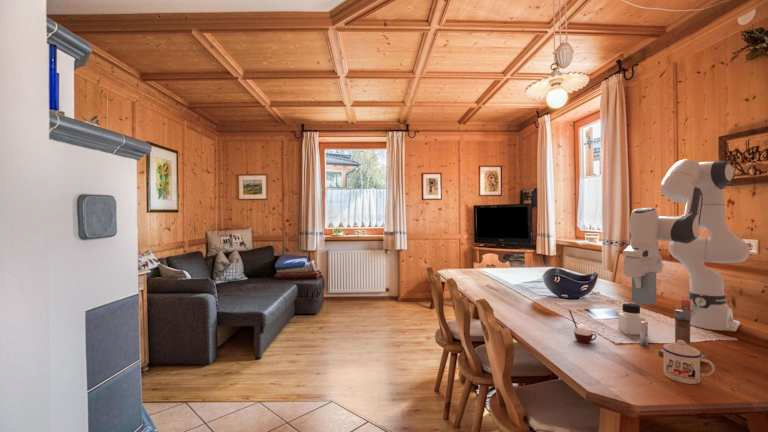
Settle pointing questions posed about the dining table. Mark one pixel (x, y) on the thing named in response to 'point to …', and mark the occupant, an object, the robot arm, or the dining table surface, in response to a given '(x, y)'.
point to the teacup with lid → (683, 363)
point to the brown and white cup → (582, 332)
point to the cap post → (643, 333)
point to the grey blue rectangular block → (645, 290)
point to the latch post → (682, 335)
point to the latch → (686, 310)
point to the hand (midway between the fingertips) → (643, 286)
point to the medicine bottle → (630, 319)
